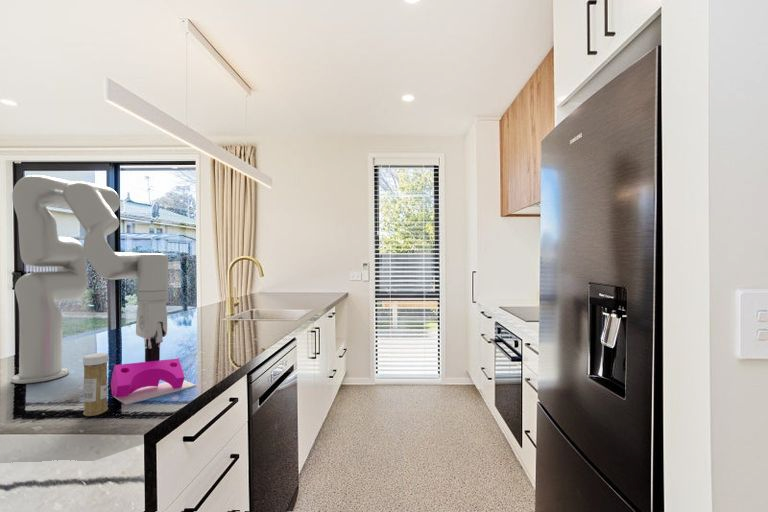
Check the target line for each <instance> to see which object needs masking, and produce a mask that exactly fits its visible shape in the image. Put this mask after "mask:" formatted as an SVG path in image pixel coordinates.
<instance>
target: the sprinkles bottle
mask: <svg viewBox="0 0 768 512" xmlns="http://www.w3.org/2000/svg"><path fill="white" fill-rule="evenodd" d="M82 361H83V363H82V364H83V367H84V368H83V372H84V373H83V412H82V415H83V416H85V417H93V416H99V415H102V414H104V413H106V412H107V411H108V409H109V408H108V361H109V355H108V353H105V352H98V353H97V352H95V353H91V354H87V355H86V354H85V355H84V356H83V358H82Z"/></svg>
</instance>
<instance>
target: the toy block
mask: <svg viewBox="0 0 768 512" xmlns="http://www.w3.org/2000/svg"><path fill="white" fill-rule="evenodd" d="M112 370H113V371H112V376H111V380H110V389H111V396H112V397H113V396H115V399H116V398H117V397H123V396H128V394H131V393H132V392H134V391H135V390H137V389H140V388H144V387H148V386H156V387H158V384H160V381H163V382H164V383H165V382H167V383H169V384H170V385H171V386H172V387H173V389H176V388H182V385H183V381H184V380H185V373H184V370H183V368H182V364H181V362H180V358H170V359H160V360H159V361H149V362H145V361H140V362H131V363H130V362H129V363H120V364H114V366H113V369H112Z"/></svg>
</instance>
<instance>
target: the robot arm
mask: <svg viewBox="0 0 768 512" xmlns="http://www.w3.org/2000/svg"><path fill="white" fill-rule="evenodd" d="M11 193H12V195H11V196H12V197H11V200H12V204H13V208H14V211H15V214H16V218H17V223H18V241H19V253H20V260H21V261H22V263H23V264H24V265H25V266H28V267H34V268H57V271H56V270H55V271H54V270H53V271H50V270H49V271H46V270H45V271H33V272H29V273H25V274H24V275H22V276H20V277H19V278H18V279H17V281H16V283H15V285H14V292H15V297H16V301H17V304H18V311H19V313H18V314H19V348H18V349H19V353H18V355H19V356H18V357H19V358H18V364H19V365H18V366H19V367H18V374H16V375H13V376H12V377H11V382H12V383H13V384H18V385H19V384H21V385H22V384H23V385H25V384H33V383H34V384H35V383H42V382H47V381H53V380H56V379H59V378H63V377H65V376H66V375H68V374H69V368H67V367H63V314H62V312H61V310H60V308H59V307H58V306H57V304H56V303H59V302H68V301H69V302H70V301H74V300H78V299H80V298H82V297H83V296H84V294H85V293H86V291H87V289H88V271H87V261H88V263H89V264H90V266H91V267H92V269H93V270H94V271H95V272H96V274H98V276H100V277H102V278H103V279H107V280H127V279H128V280H129V279H131V280H132V279H133V280H134V279H136V283H137V284H136V295H137V296H136V303H137V309H136V320H135V322H136V324H135V335H136V336H138V337H140V338H142V339H143V340H144V362H149V361H159V360H161V359H160V357H161V356H160V355H161V351H160V350H161V344H162V343H163V341H164V340H163V339H164V337H166V336H167V334H168V311H167V310H168V309H167V303H168V302H169V257H168V255H167V254H164V253H155V252H154V253H153V252H151V253H142V252H129V251H128V252H127V251H126V252H125V251H124V252H123V251H114V250H113V249H112V247H111V246H110V244H109V243H108V241H107V239H106V237H107V236H109V235H111V234H112V233H113V234H114V232H115V231H117V229H119V226H120V220H119V218H118V217H117V215H116V214H115V212H117V211H118V210H119V208H120V206H121V199H120V196H119V194H118V193H117V191H116V190H114V189H113V188H111V187H109V186H105V185H100V184H96V183H92V182H87V181H86V182H85V181H70V180H67V179H62V178H57V177H52V176H46V175H39V174H32V175H31V174H29V175H26V176H22V178H20V179H19V180H18V181H16V183H15V185H14V187H13V189H12V192H11ZM47 206H51V207H56V208H57V207H59V208H65V209H66V208H67V209H70V210H71V211H72V213H73V214H74V216H75V218H76V219H77V220H78V222H79V223H80V225H81V227H82V228H83V229H84V231H85V236H84V237H83V244H82V243H81V242H80V241H79V240H77V239H75V238H72V237H67V236H59V234H58V230H57V229H58V228H57V227H58V226H57V221H56V218H55V217H54V215H53V213H52V212H51V211H50V210H49V209H48V208H47Z"/></svg>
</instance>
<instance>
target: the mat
mask: <svg viewBox="0 0 768 512" xmlns="http://www.w3.org/2000/svg"><path fill="white" fill-rule="evenodd" d="M196 385H197V384H195V383H192V382H190V381H187V380H186V379H184V381H183V385H182V388H176V389H173V387H172V386H171V385H170V384H169V383H167V382H165V381H164V382H161V383H160V382H159V384H158V387H156V386H147V387H143V388H140V389H137V390H135V391H134V392H132V393H131V394H128V396H123V397H117V398H115V396H112V397H113V398H115V399H116V400H117V401H118V402H121V403H122V404H124V405H125V406H126V405H130V404H134V403H137V402H142V401H144V400H145V401H146V400H149V399H153V398H156V397H160V396H164V395H168V394H172V393H176V392H179V391H183V390H187V389H191V388H195V387H196Z"/></svg>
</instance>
